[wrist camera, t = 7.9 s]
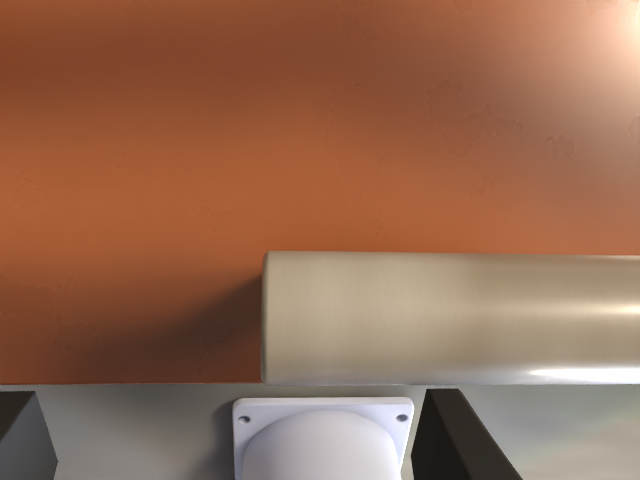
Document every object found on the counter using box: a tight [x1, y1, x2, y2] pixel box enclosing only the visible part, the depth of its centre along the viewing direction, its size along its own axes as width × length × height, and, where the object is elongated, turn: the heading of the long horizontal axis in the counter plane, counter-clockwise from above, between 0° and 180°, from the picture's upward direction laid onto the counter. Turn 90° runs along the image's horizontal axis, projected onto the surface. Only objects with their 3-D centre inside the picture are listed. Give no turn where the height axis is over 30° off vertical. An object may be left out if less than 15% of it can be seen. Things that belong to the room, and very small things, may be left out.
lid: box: [0, 0, 640, 386], centre depth 8 cm, size 10×16×5 cm
